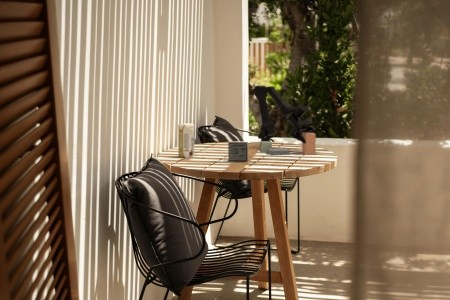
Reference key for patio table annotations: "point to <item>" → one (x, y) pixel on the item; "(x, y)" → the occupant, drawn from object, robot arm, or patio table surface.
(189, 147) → the juice carton
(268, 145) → the sage cube
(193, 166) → the patio table surface
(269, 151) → the slate base block
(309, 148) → the terracotta block
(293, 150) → the card
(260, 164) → the patio table surface
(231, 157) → the small box
